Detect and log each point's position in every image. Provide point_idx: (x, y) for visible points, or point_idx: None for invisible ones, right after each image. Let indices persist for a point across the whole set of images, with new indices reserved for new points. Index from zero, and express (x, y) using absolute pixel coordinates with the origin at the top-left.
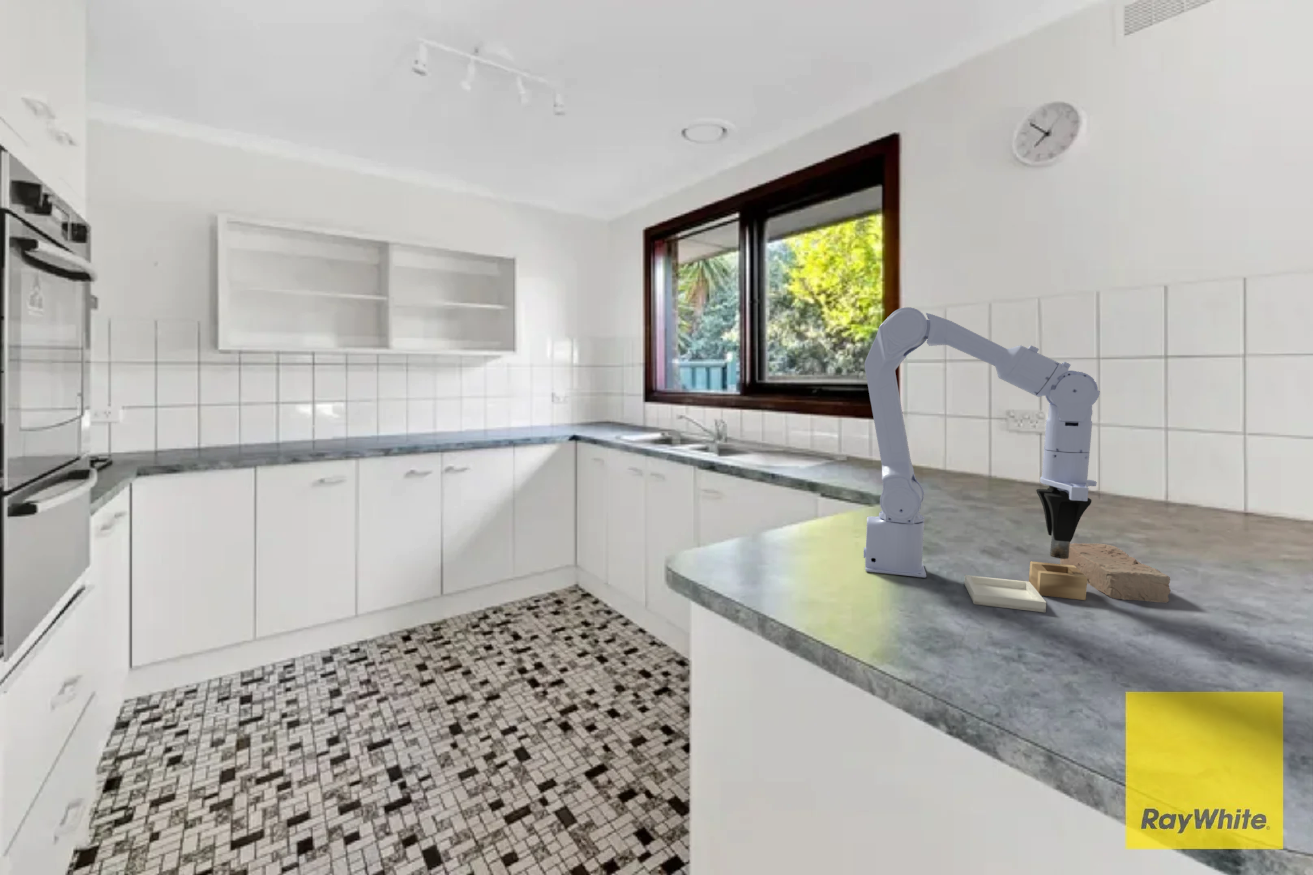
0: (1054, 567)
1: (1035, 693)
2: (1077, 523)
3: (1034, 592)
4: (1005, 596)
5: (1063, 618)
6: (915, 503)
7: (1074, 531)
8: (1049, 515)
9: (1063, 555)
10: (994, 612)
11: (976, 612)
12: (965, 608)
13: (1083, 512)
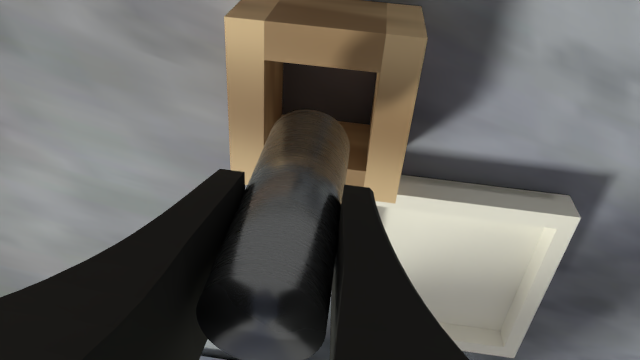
0: (266, 107)
1: None
2: (399, 264)
3: (479, 215)
4: (527, 300)
5: (622, 163)
6: None
7: (380, 223)
8: (202, 340)
9: (348, 154)
10: (568, 310)
11: (569, 344)
12: (540, 355)
13: (450, 339)
